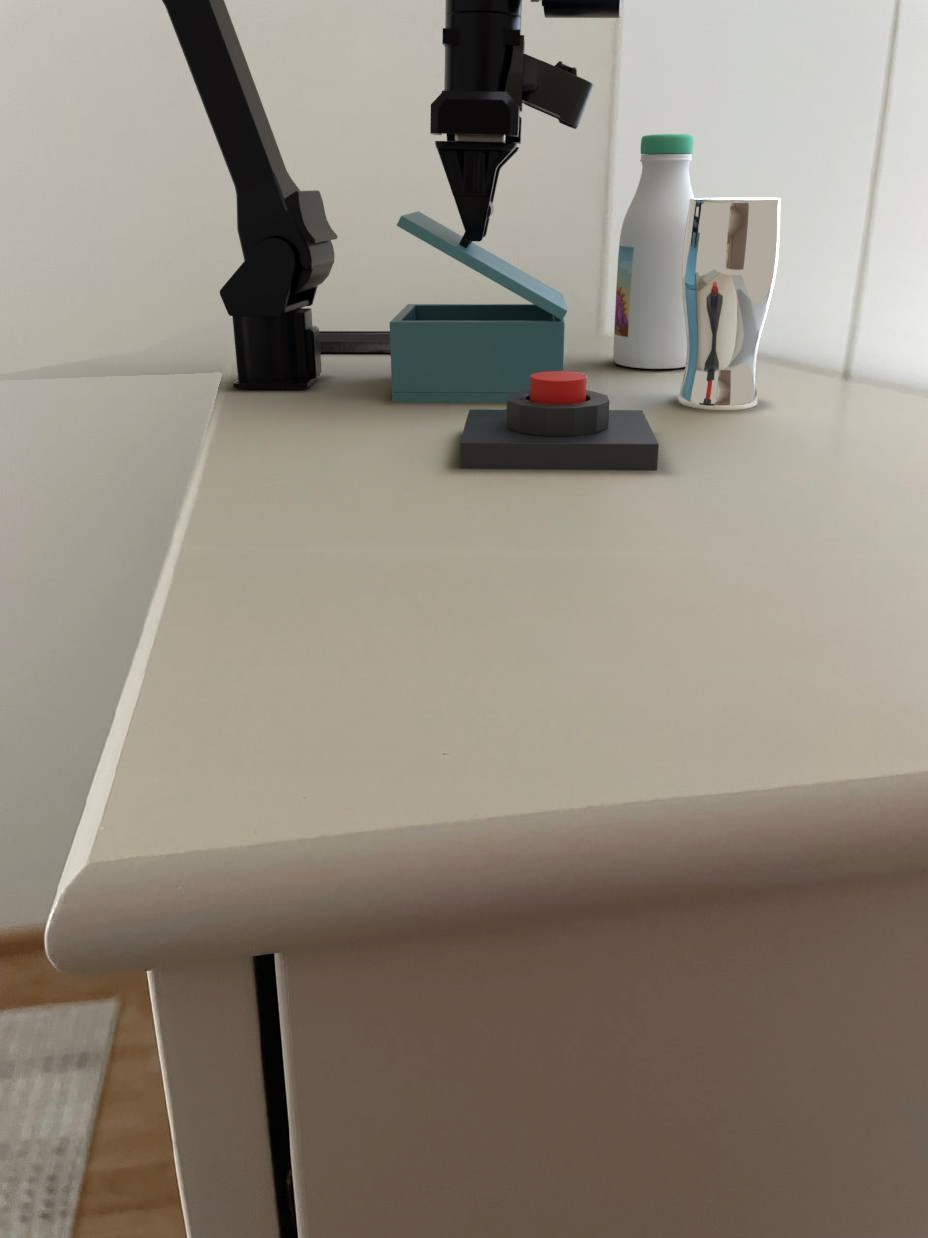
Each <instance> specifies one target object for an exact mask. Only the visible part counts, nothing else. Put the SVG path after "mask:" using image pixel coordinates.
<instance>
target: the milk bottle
mask: <svg viewBox="0 0 928 1238" xmlns="http://www.w3.org/2000/svg"><path fill="white" fill-rule="evenodd" d="M694 140H695V139H694V136H693V135H692V134H687V133H659V134H658V133H657V134H655V133H654V134H645V135H642V137H641V140H640V159H639V161H640V163H641V165H642V168H641V174H640V178H639V181H638V185H637V188H636V190H635V193H634V196H633V198H632V200H631V202H630V204H629V206H628V208H627V210H626V213H625V215H624V219H623V221H622V224H621V225H622V226H621V229H620V236H619V243H618V254H617V268H616V269H617V270H616V271H617V272H616V289H615V306H614V307H615V309H614V329H613V359H614V363H615V364H617V365H618V366H622V367H629V368H635V369H636V368H637V369H646V370H647V369H650V370H651V369H652V370H663V369H664V370H666V369H667V370H668V369H680V368H685V367H686V358H687V339H686V326H685V317H684V306H683V295H682V256H683V246H684V237H685V230H686V223H687V217H688V210H689V200H690V199H695V196H694V193H693V188H692V184H691V177H690V163H691V162H692V161H693V158H692V156H693V155H692V154H693V152H694Z"/></svg>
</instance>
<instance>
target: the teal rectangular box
mask: <svg viewBox="0 0 928 1238" xmlns="http://www.w3.org/2000/svg"><path fill="white" fill-rule="evenodd" d="M565 326H566V324H565V317H564V318H563V320H561V319H559V318H557V317H556V316H554V315H552V314H550V313H549V312H547V311H545V310H543V309H542V308H540V307H538V306H536V305H535V304H533V303H407V304H406V305H405V306H404V307H403V308H402V309H401V310H400V311H399V312H398V313H397V314H396V315H395V316H394V317H393V318H392V319H390V321H389V331H390V349H391V352H390V371H391V372H390V373H391V376H390V378H391V401H392V403H507V396H508V395H509V394H513V393H516V392H519V391H522V390H530V376H531V375H532V374H534V373H539V372H548V371H564V364H565V363H564V360H565V359H564V357H565V329H566V328H565Z"/></svg>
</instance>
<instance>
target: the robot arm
mask: <svg viewBox="0 0 928 1238" xmlns="http://www.w3.org/2000/svg"><path fill="white" fill-rule="evenodd" d="M161 1H162V3H163V5H164V7H165V9H166V12H167V14H168V17H169V20H170V23H171V24H172V27H173V30H174V32H175V36H176V37H177V41H178V43H179V46H180V48H181V50H182V53H183V56H184V59H185V61H186V64H187V66H188V69H189V72H190V74H191V77H192V79H193V82H194V84H195V87H196V90H197V92H198V95H199V98H200V100H201V103H202V105H203V108H204V110H205V114H206V116H207V118H208V121H209V123H210V126H211V129H212V131H213V134H214V136H215V139H216V141H217V144H218V147H219V149H220V152H221V154H222V157H223V160H224V163H225V166H226V167H227V171H228V173H229V175H230V178H231V180H232V183H233V186H234V190H235V196H236V197H235V198H236V199H235V200H236V229H237V235H238V239H239V243H240V247H241V252H242V256H243V262H242V263H241V264H240V266H239V267H238V268H237V269H236V270H235V272H234V273H233V274H232V275H231V276H230V277H229V278H228V280H227V281H226V282H225V283H224V285H222V287H221V288H220V290H219V296H220V298H221V300H222V304H223V305H224V308H225V310H226V313H227V315H228V316H229V317H232V326H233V327H232V328H233V336H234V348H235V359H236V361H235V362H236V371H237V379H235V380H234V381H233V382H232V388H233V389H307V388H309V387H311V385H312V384H313V383H314V382H315V381H317V380H318V379H319V378H320V377H321V374H322V357H321V355H322V354H321V352H320V338H319V331H320V328H319V326H317V325H313V314H312V313H313V312H312V308H309V307H310V306H312V305H313V304H314V301H315V297H316V293H317V290H318V286H320V285H322V284H323V283H324V282H325V280H327V278H328V277H329V276H330V273H331V271H332V269H333V267H334V266H333V265H334V264H335V255H336V254H335V250H334V249H335V248H334V245H333V242H332V241H333V240H337V239H338V235H337V233H336V232H335V231H334V229H332V227H331V225H330V223H329V220H328V219H327V214H326V211H325V205H324V200H323V197H322V194H321V192H320V190H317V189H314V190H301V189H300V188H299V187H298V186H297V184H296V183H295V181H294V180H293V179H292V178H291V176H290V174H289V172H288V170H287V168H286V165H285V162H284V160H283V156H282V154H281V151H280V148H279V146H278V143H277V140H276V138H275V134H274V132H273V130H272V126H271V124H270V122H269V119H268V116H267V113H266V111H265V108H264V105H263V102H262V100H261V97H260V94H259V91H258V89H257V86H256V83H255V81H254V78H253V75H252V73H251V70H250V67H249V64H248V61H247V59H246V56H245V53H244V51H243V48H242V45H241V43H240V40H239V38H238V34H237V32H236V29H235V26H234V24H233V21H232V19H231V15H230V13H229V9H228V8H227V5H226V1H225V0H161ZM539 2H540V0H530V3H539ZM541 7H543V8H542V9H543V14H544V18H545V19H620V18H621V15H622V8H623V0H541ZM522 11H523V0H445V11H444V13H445V15H444V17H445V19H444V20H445V21H444V27H442V43H441V44H442V45H443V47H444V75H443V76H444V78H443V79H444V81H443V82H444V85H443V89H444V90H441V93H440V94H439V95H438V96H437V97H436V98H435V100H433V101H432V102H431V103H430V125H429V127H430V128H429V129H430V132H429V133H430V134H431V135H433V136H442V135H446V140H435V141H434V145H435V148H436V150H437V153H438V156H439V159H440V162H441V164H442V167H443V170H444V173H445V176H446V179H447V181H448V185H449V187H450V191H451V193H452V196H453V199H454V202H455V205H456V208H457V211H458V214H459V218H460V220H461V223H462V226H463V229H464V233H465V232H466V235H467V238H468V240H469V241H472V242H477V243H478V242H482V241H483V239H484V238H485V237H486V236H487V232H488V228H489V223H490V218H491V216H490V217H489V218H488V219H487V215H488V210H489V205H490V201H491V202H492V203H493V204H494V201H495V196H496V191H497V187H498V186H497V185H498V181H499V178H500V173H501V170H502V168H503V167H504V166H505V165H506V164H507V163H508V162H509V161H510V160H511V159H512V158H513V157H514V156H515V155H516V154H517V153H518V152H519V150H520V146H518V145H521V144H522V128H523V127H522V126H523V123H522V122H523V119H522V117H521V116H520V113H522V112H523V105H525V106H527V107H529V108H532V109H534V110H536V111H539V112H541V113H542V114H545V115H547V116H550V117H552V118H555V119H557V120H558V122H559V124H560V125H561V124H562V125H564V126H566V127H569V128H571V129H574V130H576V129H577V128H578V127H579V125H580V122H581V121H582V117H583V115H584V112H585V109H586V108H587V105H588V102H589V100H590V97H591V93H592V92H593V89H594V87H595V84H594V83H592V82H591V81H589V80H587V79H585V78H583V77H581V76H578V69H577V67H575V66H573V67H572V66H569V65H567V64H565V63H564V62H563V61H561V60H559V61H558V62H557V63H555V65H553V64H551V63H549V62H547V61H544V60H541V59H538V58H536V57H534V56H531V55H529V54H527V53H525V49H526V48H525V47H526V46H525V45H526V41H525V34H522V33H521V32H522ZM305 307H306V308H305Z"/></svg>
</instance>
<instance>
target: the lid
mask: <svg viewBox="0 0 928 1238" xmlns="http://www.w3.org/2000/svg"><path fill="white" fill-rule="evenodd" d="M494 211H495V206H494V202H493V203H492V202H491V201H490V205H489V210H488V215H487V219H488V218H489V217H490V218H491V216H493V214H494ZM396 226H397V227H398V228H400V229H401V230H404V231H405V232H407V233H409V234H410V235H412V236H414V237H415V238H417V239H419V240H421V241H423V242H424V243H426V244H428V245H430V246H431V247H433V248H435V249H436V250H438V251H440V252H442V253H444V254H446V255H447V256H449V257H451V258H452V259H454V260H456V261H458V262H459V263H461V264H463V265H465V266H466V267H468V268H469V269H472V270H473V271H475V272H477V273H478V274H479V275H482V276H483V277H486V278H487V279H489V280H491V281H493V282H494V283H496V284H498V285H500V286H501V287H503V288H504V289H507V290H508V291H510V292H512V293H513V294H515V295H517V296H519V297H520V298H523V299H524V300H525V301H528V302H529V303H530V304H535V305H536V306H538V307H540V308H542V309H543V310H545V311H547V312H549V313H550V314H552V315H554V316H556V317H557V318H559V319H561V320H563V318H564V319H565V317H566V314H567V313H568V309H567V304H566V301H565V297H564V294H563V293H561V292H560V291H558V290H556V289H555V288H553V287H552V286H549V285H548V284H546V283H545V282H542V281H541V280H539V279H538V278H536V277H534V276H532V275H530V274H529V273H526V272H525V271H523V270H522V269H520V268H518V267H516V266H514V265H513V264H511V263H510V262H509V261H506V260H505V259H502V258H500V257H499V256H498V255H495V254H494V253H492V252H490V251H489V250H487V249H485V248H484V247H482V246H480V245H478V244H476V243H475V242H474V241H469V240H468V238H467V235H466V232H465V231H464V233H463V235H461V234H459V233H457V232H455V231H454V230H452V229H451V228H449V227H447V226H445V225H444V224H442V223H440V222H439V221H436V220H435V219H433V218H431V217H429V216H428V215H426V214H424V213H423V212H421V211H419V210H417V211H414V212H410V213H405V214H403V215H400V217H399V219H398V221H397V223H396Z"/></svg>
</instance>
